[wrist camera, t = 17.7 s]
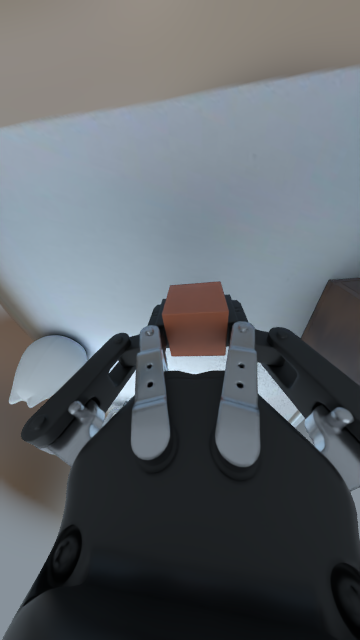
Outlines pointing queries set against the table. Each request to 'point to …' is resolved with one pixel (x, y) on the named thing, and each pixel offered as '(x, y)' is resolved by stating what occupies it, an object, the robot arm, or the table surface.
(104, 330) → the table surface
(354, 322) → the chest
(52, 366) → the white rounded teardrop
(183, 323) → the block
